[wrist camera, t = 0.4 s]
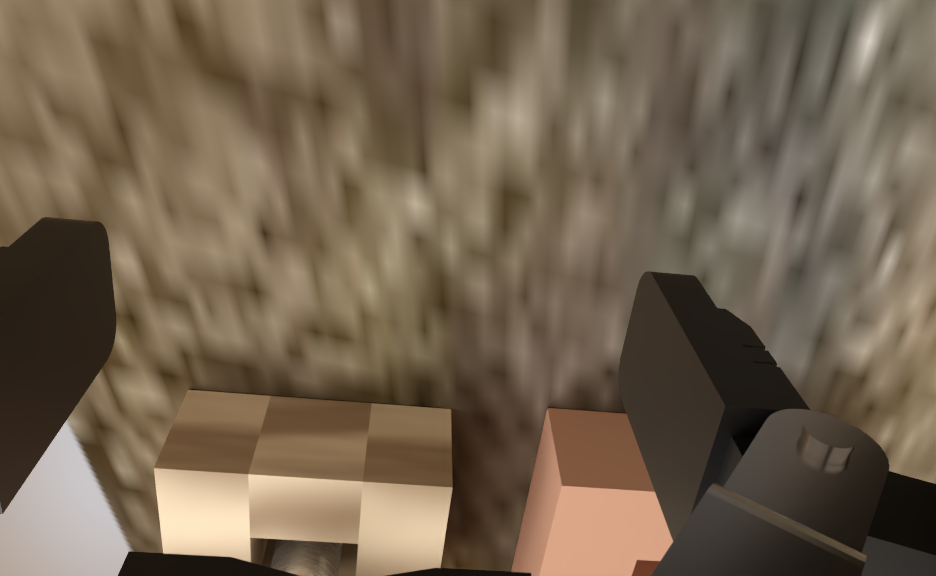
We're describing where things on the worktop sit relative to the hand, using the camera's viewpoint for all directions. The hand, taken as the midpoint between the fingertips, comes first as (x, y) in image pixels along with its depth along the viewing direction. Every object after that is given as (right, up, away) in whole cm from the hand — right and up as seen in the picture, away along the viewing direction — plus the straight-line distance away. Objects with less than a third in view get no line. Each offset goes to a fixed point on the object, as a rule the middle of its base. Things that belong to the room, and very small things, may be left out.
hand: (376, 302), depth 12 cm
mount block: (-6, -10, +27) cm, 30 cm away
